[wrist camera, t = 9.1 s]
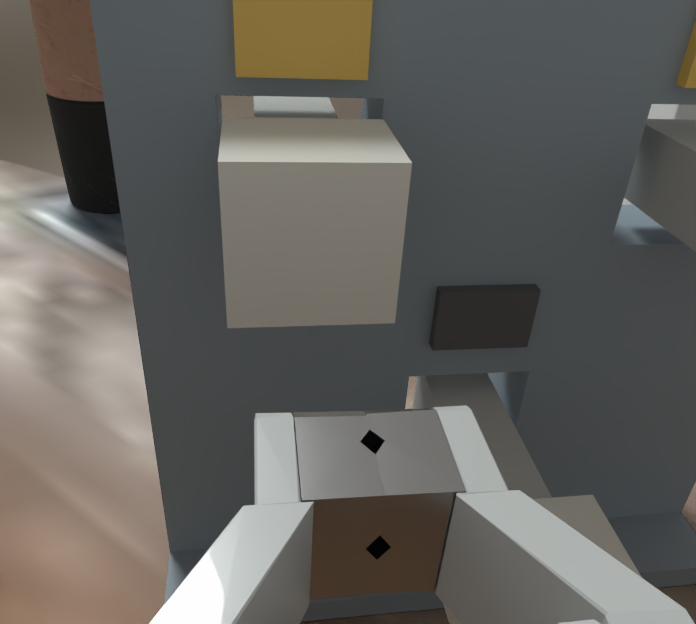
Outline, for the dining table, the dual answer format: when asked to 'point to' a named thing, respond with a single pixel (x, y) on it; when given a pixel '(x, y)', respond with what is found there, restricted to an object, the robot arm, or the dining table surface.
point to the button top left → (310, 215)
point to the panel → (423, 244)
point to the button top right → (667, 176)
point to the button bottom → (516, 457)
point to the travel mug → (76, 101)
